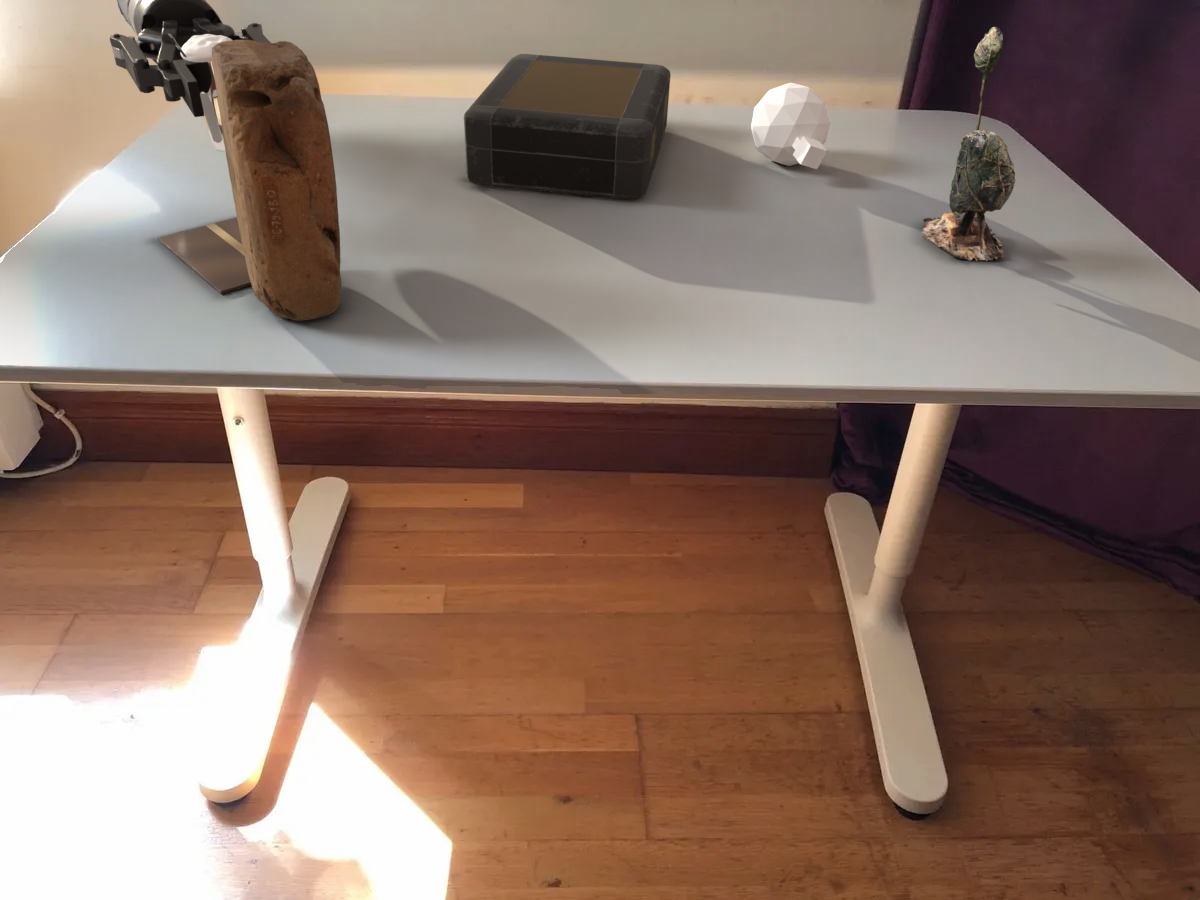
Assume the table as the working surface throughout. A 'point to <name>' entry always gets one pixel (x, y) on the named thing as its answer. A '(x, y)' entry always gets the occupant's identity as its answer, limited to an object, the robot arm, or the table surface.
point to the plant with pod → (976, 179)
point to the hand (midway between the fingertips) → (229, 95)
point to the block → (281, 175)
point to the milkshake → (205, 80)
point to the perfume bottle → (791, 126)
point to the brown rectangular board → (213, 254)
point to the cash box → (568, 126)
